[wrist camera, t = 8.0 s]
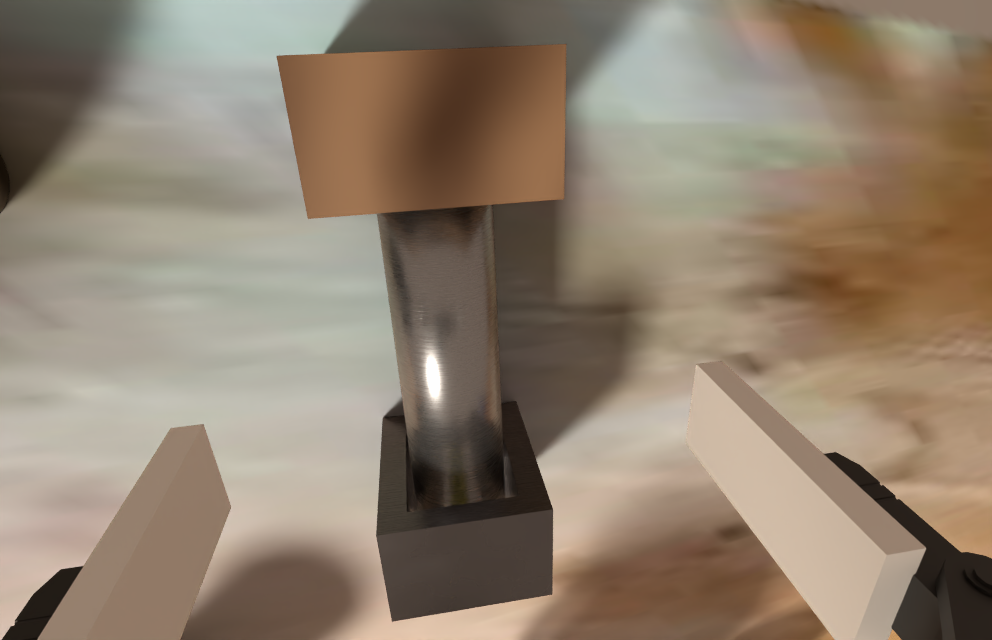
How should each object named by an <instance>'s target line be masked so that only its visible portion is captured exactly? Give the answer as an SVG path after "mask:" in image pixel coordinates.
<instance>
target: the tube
mask: <svg viewBox="0 0 992 640" xmlns="http://www.w3.org/2000/svg"><path fill="white" fill-rule="evenodd" d="M377 217H378V224H379V231H380V239H381V246H382V253H383V261H384V268H385V275H386V283H387V290H388V298H389V305H390V312H391V320H392V327H393V334H394V342H395V349H396V356H397V364H398V371H399V378H400V386H401V393H402V400H403V408H404V415H405V422H406V430H407V437H408V444H409V452H410V459H411V466H412V474H413V481H414V488H415V496H416V503H417V510H418V511H419V510H426V509H433V508H440V507H447V506H453V505H460V504H467V503H474V502H481V501H488V500H495V499H502V498H505V481H504V457H503V434H502V410H501V387H500V363H499V340H498V316H497V292H496V269H495V245H494V222H493V205H480V206H467V207H454V208H441V209H428V210H415V211H402V212H389V213H377Z"/></svg>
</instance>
